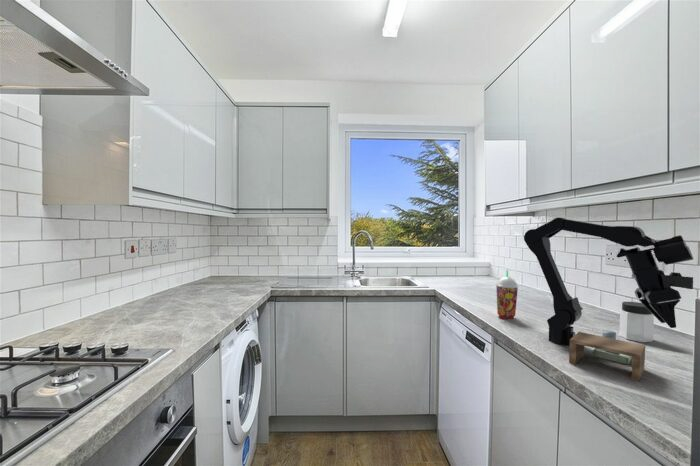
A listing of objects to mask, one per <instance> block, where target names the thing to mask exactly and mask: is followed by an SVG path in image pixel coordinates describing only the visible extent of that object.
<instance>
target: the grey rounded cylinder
mask: <svg viewBox="0 0 700 466" xmlns="http://www.w3.org/2000/svg"><path fill="white" fill-rule="evenodd" d="M602 337H607V338H612V339H616V338H617V332H615V331H611V330H608V329H607V330H606V329H605V330H603V331H602ZM616 340H617V339H616Z"/></svg>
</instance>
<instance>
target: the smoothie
mask: <svg viewBox="0 0 700 466" xmlns="http://www.w3.org/2000/svg"><path fill="white" fill-rule="evenodd" d="M505 273H506V276H503V277H501V278H500V279H498V281H497V283H496V284H495V286H496V308H497V309H496V310H497V315H498V317H499V318H500V319H502V320H503V319H504V320H513V319H514V318H515V316H516V312H517V311H516V310H517V302H518V301H517V299H518V289H519V288H518V287H519V286H518V284H517V282H516V280H515V279H513V278H512V277H510V276H509V270H506V272H505Z"/></svg>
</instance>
